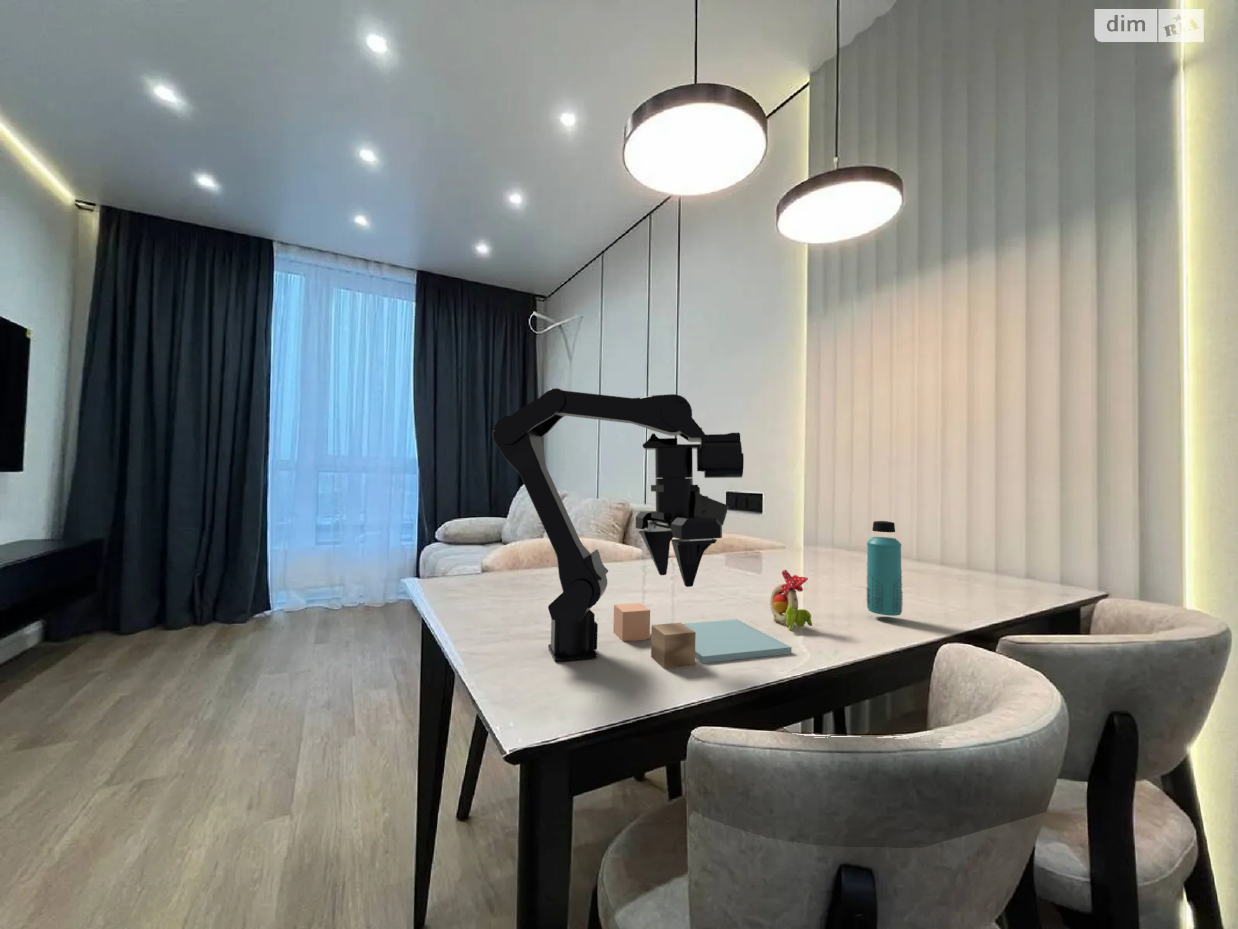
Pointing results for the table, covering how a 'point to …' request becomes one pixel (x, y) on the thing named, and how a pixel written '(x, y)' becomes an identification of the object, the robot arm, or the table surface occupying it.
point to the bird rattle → (789, 602)
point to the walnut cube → (673, 645)
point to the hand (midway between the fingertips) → (675, 580)
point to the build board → (733, 641)
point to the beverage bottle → (884, 572)
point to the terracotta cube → (631, 621)
